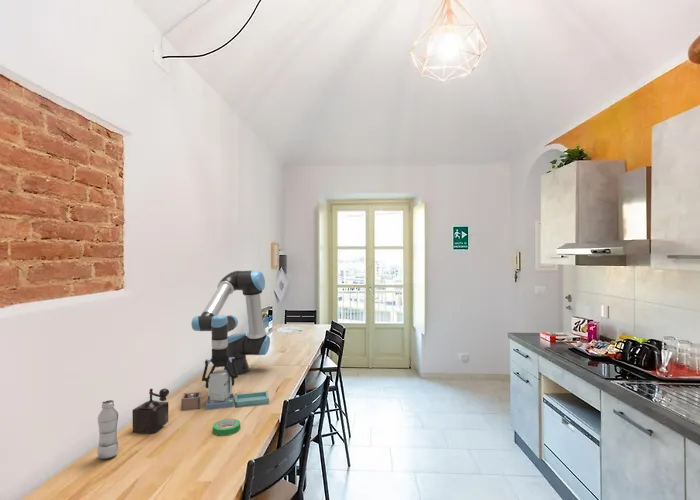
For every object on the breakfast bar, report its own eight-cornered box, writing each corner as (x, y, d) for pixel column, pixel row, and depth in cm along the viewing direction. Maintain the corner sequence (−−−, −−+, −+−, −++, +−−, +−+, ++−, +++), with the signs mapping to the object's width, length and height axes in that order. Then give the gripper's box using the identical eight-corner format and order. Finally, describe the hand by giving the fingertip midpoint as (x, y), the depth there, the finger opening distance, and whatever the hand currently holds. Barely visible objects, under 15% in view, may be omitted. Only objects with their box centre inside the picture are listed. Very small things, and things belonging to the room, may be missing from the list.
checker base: (207, 401, 197) (207, 394, 197) (234, 398, 200) (234, 391, 200) (204, 411, 184) (204, 403, 184) (233, 408, 188) (233, 400, 188)
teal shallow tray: (235, 399, 199) (235, 394, 199) (267, 396, 204) (267, 391, 204) (235, 407, 189) (234, 402, 189) (268, 403, 193) (268, 398, 193)
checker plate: (211, 398, 195) (211, 396, 195) (230, 396, 198) (230, 394, 198) (209, 405, 187) (209, 402, 187) (229, 402, 189) (229, 400, 189)
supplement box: (223, 401, 188) (223, 374, 188) (209, 400, 189) (208, 374, 189) (231, 395, 195) (230, 370, 195) (217, 394, 197) (216, 369, 197)
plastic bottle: (103, 452, 147) (102, 399, 147) (122, 451, 147) (121, 398, 147) (93, 462, 140) (93, 405, 140) (113, 461, 141) (112, 404, 141)
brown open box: (183, 405, 192) (183, 393, 192) (201, 404, 194) (201, 391, 194) (181, 412, 184) (181, 399, 184) (199, 410, 186) (199, 397, 186)
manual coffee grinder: (130, 433, 163) (130, 389, 163) (146, 422, 174) (146, 381, 174) (165, 434, 161) (165, 390, 161) (180, 423, 172) (180, 382, 172)
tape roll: (218, 424, 171) (218, 418, 171) (243, 424, 171) (243, 418, 171) (208, 436, 160) (208, 429, 160) (235, 436, 160) (235, 429, 160)
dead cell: (188, 405, 190) (188, 392, 190) (196, 404, 191) (196, 392, 191) (187, 408, 187) (187, 395, 187) (195, 407, 187) (195, 394, 188)
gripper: (194, 351, 186) (195, 398, 186) (243, 347, 192) (243, 393, 192) (196, 347, 193) (197, 393, 193) (243, 344, 199) (243, 388, 199)
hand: (220, 393), depth 192 cm, fingers closed on supplement box, 9 cm apart
